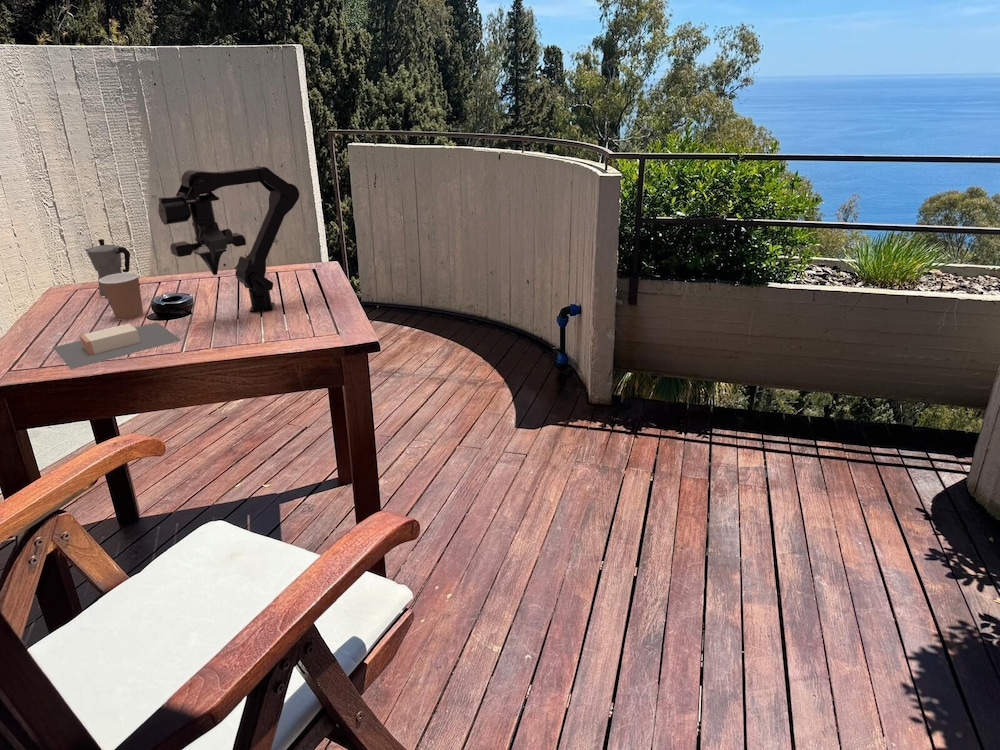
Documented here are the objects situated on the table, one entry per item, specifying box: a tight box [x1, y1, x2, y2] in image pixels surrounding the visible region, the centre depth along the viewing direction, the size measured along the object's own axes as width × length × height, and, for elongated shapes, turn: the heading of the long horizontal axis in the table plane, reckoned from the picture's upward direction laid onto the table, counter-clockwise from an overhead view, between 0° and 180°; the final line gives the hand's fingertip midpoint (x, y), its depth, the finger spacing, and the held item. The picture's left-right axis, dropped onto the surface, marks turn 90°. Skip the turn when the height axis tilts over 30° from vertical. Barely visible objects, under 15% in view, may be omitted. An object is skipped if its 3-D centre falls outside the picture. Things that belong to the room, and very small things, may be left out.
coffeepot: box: [84, 238, 131, 297], centre depth 214 cm, size 15×9×18 cm, turn 80°
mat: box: [52, 321, 182, 370], centre depth 176 cm, size 26×20×1 cm
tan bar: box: [78, 323, 140, 355], centre depth 174 cm, size 4×7×12 cm
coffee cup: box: [98, 272, 144, 321], centre depth 194 cm, size 10×10×12 cm
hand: (215, 274), depth 188 cm, fingers closed
